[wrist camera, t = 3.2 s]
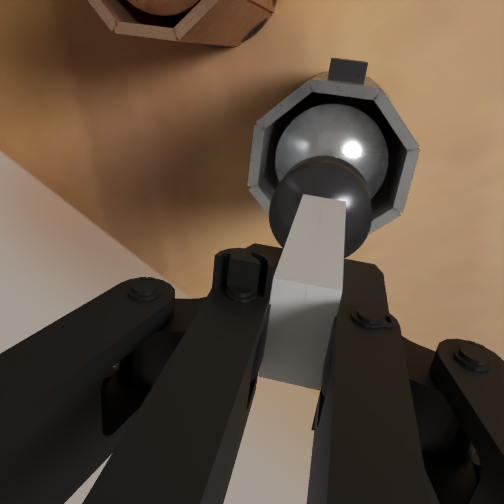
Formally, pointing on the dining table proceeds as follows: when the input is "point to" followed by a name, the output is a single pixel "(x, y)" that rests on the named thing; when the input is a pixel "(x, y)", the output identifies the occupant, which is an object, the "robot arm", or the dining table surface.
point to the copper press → (190, 21)
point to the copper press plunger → (165, 6)
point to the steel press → (349, 93)
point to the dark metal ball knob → (329, 168)
